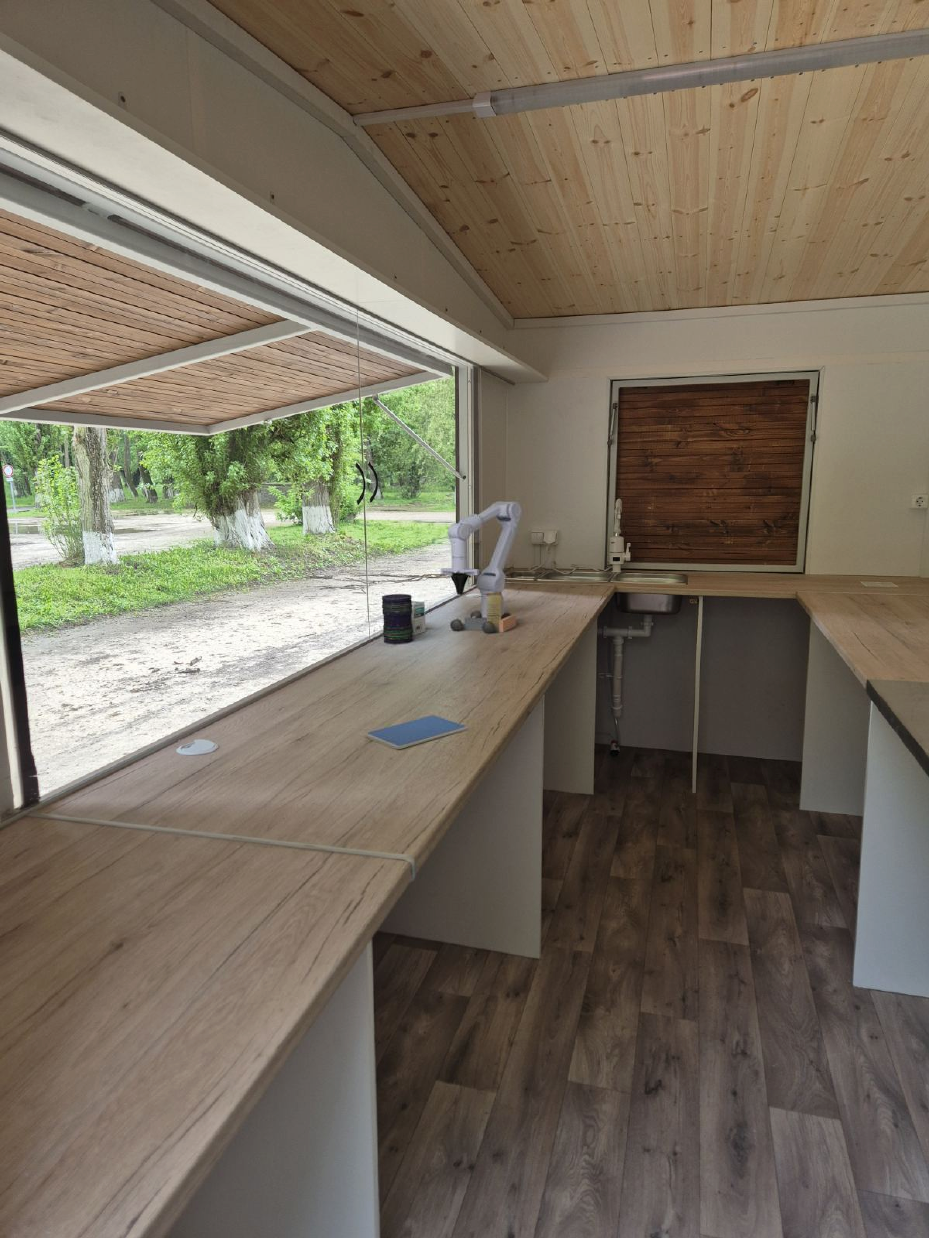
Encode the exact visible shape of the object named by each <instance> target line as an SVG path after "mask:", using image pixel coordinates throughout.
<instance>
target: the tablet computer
mask: <svg viewBox="0 0 929 1238" xmlns="http://www.w3.org/2000/svg"><path fill="white" fill-rule="evenodd" d="M468 729H469V728H468V726H467V725H464V724H461V723H457V722H455V721H453V720H449V719H446V718H444V717H440V716H437V715H434V714H433V715H428V716H424V717H420V718H416V719H413V720H410V721H406V722H402V723H399V724H394V725H392V726H387V727H384V728H379V729H375V730H371V731H369V732H368V731H367V732H366V733H365V736H364V737H365V738H367V739H368V740H371V741H374V742H376V743H379V744H381V745H384V746H387V747H389V748H390V749H395V750H402V749H405V748H409V747H412V746H416V745H420V744H423V743H426V742H429V741H433V740H437V739H439V738H443V737H445V736H446V737H447V736H450V735H453V734H454V735H455V734H457V733H460V732H464V730H465V731H468Z"/></svg>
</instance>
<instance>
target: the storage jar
mask: <svg viewBox="0 0 929 1238" xmlns="http://www.w3.org/2000/svg"><path fill="white" fill-rule="evenodd" d="M381 600H382V601H381V608H382V609H381V610H382V611H381V612H382V616H383V625H382V628H383V629H382V635H383V643H384V644H387V645H406V644H407V645H408V644H410V643H413V642H414V635H413V625H412V616H411V613H412V601H413V600H412V595H411V594H405V593H396V594H395V593H393V594H392V593H391V594H385V595H382V596H381Z"/></svg>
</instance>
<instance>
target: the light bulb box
mask: <svg viewBox="0 0 929 1238" xmlns="http://www.w3.org/2000/svg"><path fill="white" fill-rule="evenodd" d="M411 616H412V625H413V636H417V635H419V634H422V633H426V632H427V631H426V630H427V629H426V628H427V627H426V607H425V601H419V600H418V601H416V600H412V613H411Z"/></svg>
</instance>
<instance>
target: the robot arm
mask: <svg viewBox="0 0 929 1238" xmlns="http://www.w3.org/2000/svg"><path fill="white" fill-rule="evenodd" d="M522 514H523V511H522V507H521V504H520V503H519V502H518V501H502V500H498V501H496V502H493V503H492V504H491V505H490V506H489V507H488V508H485V509H484V510H483V511H481V512H480V513H479V514H476V513H470V514H468V515H467V517H466V518H464V519H460V520H459V521H458V522H457V523H456V522H454V523H452V524H451V525H450V526H449V527H448V530H447V532H446V533H447V536H448V538H449V542H450V546H451V547H450V549H451V555H450V556H451V567H450V568H449V567H442V568H440V574H441V575H446V574H447V575H450V579H451V580H452V582H453V584H454V588H455V589H456V593H457V595H459V596H460V595H461V596H462V595H463V594H464V590H465V586H466V583H467V581H468V579H469V578H470V577H469V575H470V576H478V577H477V579H476V588H477V589H478V591H479V593H480V597H481V598H480V599H481V601H480V602H481V603H480V604H481V614H482V618H485V619H487V600H486V595H487V593H501V616H502V615H503V614H504V613H505V612H504V611H505V609H504V608H505V607H504V606H505V605H504V603H505V599H504V596H503V594H502V593H503V591H504V589H505V585H506V584H505V582H506V579H507V576H506V574H505V573H504V568H505V566H506V562H507V561H508V559H509V558H508V557H509V555H510V551H511V549H512V547H513V544H514V541H515V538H516V535H517V533H518V530H519V523H520V520H521V517H522ZM494 518H495V519H496V521H497V522H498V523H499V525H500V526H501V528H502V529H501V533H500V536H499V538H498V541H497V543H496V546H495V548H494V551H493V554H492V556H491V559H490V562H489V565H488V566H487V567H486V568H484V569H483V570H482V572H481V574H480V569H479V568H478V569H477V568H468V539H470V536H471V534H473V533H474V532H476V531H479V530H480V529H481V528H482V527H483V523H485V522H488V521H490V520H492V519H494Z"/></svg>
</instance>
